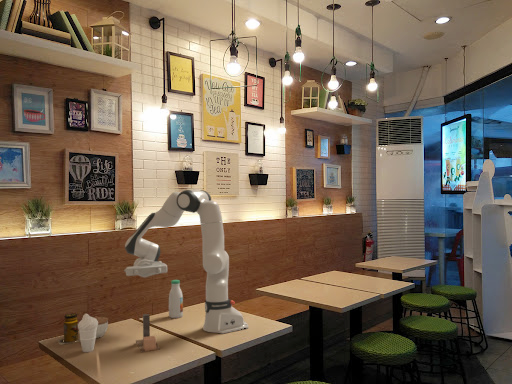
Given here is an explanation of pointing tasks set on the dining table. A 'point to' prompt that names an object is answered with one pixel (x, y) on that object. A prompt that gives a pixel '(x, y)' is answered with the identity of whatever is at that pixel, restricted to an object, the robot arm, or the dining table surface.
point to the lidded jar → (101, 326)
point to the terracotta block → (149, 343)
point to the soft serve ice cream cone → (87, 332)
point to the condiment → (70, 329)
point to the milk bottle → (175, 300)
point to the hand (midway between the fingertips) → (148, 272)
